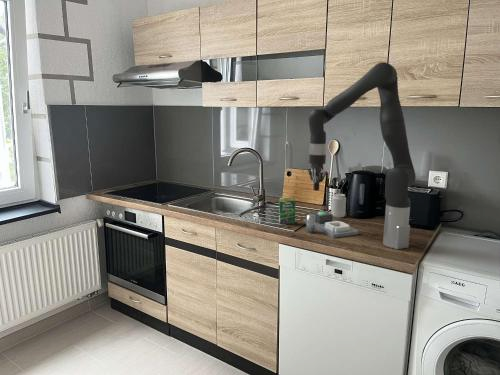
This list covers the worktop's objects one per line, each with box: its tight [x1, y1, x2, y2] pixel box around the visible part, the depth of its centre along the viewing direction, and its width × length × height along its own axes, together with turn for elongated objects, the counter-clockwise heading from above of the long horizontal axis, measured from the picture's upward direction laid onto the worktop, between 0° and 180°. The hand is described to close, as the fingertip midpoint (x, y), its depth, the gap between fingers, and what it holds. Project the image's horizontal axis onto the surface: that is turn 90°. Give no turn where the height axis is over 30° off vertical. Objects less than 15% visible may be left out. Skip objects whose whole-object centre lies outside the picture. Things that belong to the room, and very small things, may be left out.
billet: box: [305, 213, 316, 234], centre depth 169 cm, size 4×4×8 cm
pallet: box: [303, 210, 360, 239], centre depth 176 cm, size 26×14×6 cm, turn 22°
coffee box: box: [278, 197, 296, 225], centre depth 182 cm, size 8×3×13 cm, turn 91°
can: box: [330, 193, 347, 219], centre depth 196 cm, size 8×8×12 cm
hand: (316, 190), depth 171 cm, fingers closed
